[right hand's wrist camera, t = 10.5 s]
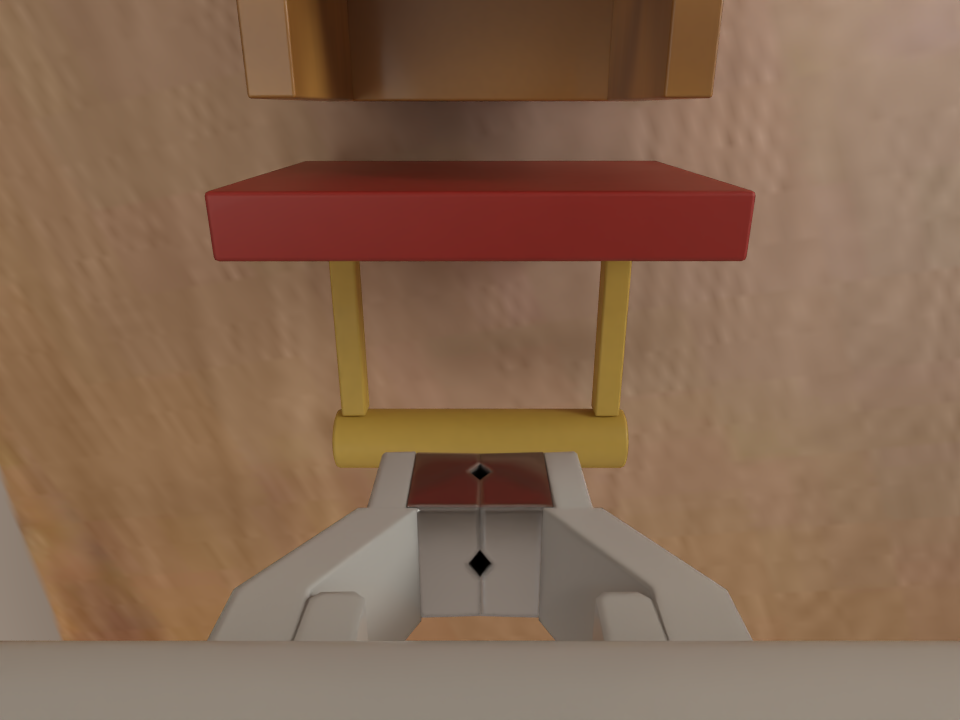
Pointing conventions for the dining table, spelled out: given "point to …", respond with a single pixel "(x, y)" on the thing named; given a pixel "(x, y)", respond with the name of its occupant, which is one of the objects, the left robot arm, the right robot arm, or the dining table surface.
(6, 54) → the dining table surface
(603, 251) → the drawer
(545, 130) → the dining table surface
